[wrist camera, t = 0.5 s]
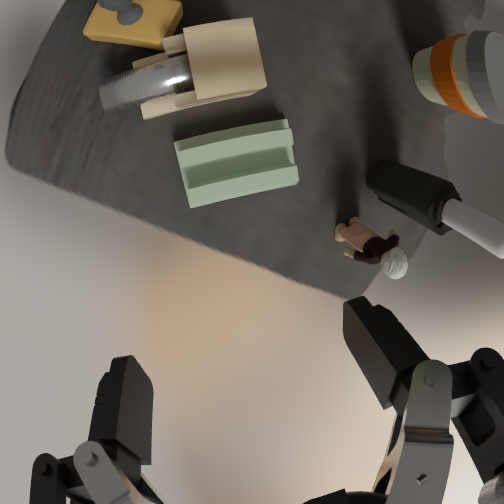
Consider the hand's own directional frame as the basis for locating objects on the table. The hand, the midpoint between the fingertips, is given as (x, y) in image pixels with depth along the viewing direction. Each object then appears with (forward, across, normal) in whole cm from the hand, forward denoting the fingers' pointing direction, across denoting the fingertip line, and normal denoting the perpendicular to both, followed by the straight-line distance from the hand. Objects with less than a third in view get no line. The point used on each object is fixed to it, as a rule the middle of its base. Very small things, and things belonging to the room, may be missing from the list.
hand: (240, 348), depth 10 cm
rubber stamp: (+26, +4, -22) cm, 35 cm away
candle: (+26, -24, +5) cm, 35 cm away
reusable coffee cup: (+26, -36, -11) cm, 46 cm away
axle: (+22, +1, -13) cm, 26 cm away
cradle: (+26, -4, -2) cm, 26 cm away
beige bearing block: (+26, -1, -13) cm, 29 cm away
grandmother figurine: (+26, -17, +10) cm, 33 cm away
